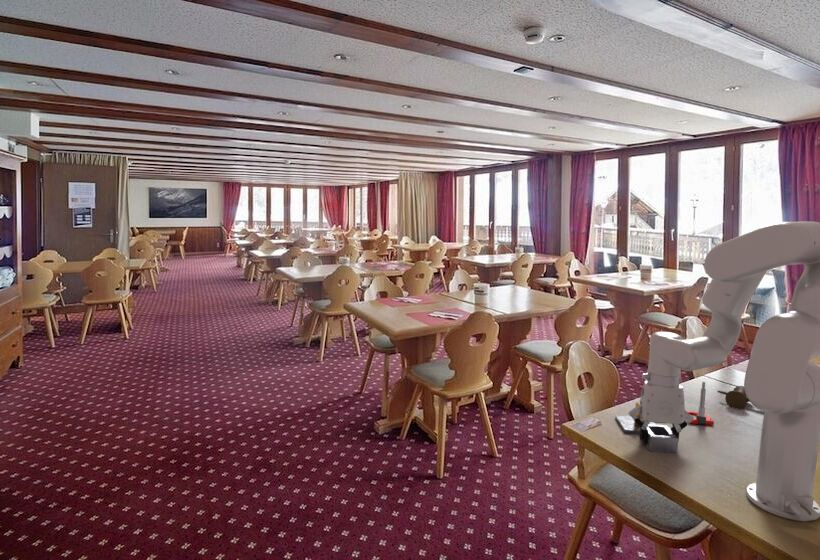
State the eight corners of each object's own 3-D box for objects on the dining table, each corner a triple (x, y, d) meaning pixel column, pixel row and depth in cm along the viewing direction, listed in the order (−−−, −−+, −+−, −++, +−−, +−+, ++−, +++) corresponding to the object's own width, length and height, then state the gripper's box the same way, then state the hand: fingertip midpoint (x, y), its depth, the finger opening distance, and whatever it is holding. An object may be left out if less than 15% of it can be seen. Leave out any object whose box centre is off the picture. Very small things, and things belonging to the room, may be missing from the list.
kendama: (787, 423, 144) (711, 403, 158) (793, 415, 151) (719, 396, 165) (790, 404, 143) (714, 385, 158) (796, 397, 150) (722, 379, 164)
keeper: (662, 435, 134) (664, 411, 134) (624, 433, 136) (626, 409, 135) (650, 420, 144) (652, 398, 143) (615, 418, 146) (616, 396, 145)
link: (677, 453, 125) (678, 438, 124) (650, 451, 126) (651, 436, 125) (665, 439, 132) (667, 425, 132) (640, 437, 134) (641, 423, 133)
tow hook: (674, 413, 151) (686, 424, 142) (677, 373, 150) (689, 381, 141) (703, 415, 150) (717, 426, 141) (706, 374, 149) (720, 383, 140)
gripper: (632, 381, 124) (628, 447, 127) (705, 386, 122) (699, 452, 124) (624, 372, 132) (620, 434, 134) (692, 376, 129) (687, 439, 131)
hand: (658, 442), depth 129 cm, fingers closed on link, 6 cm apart
